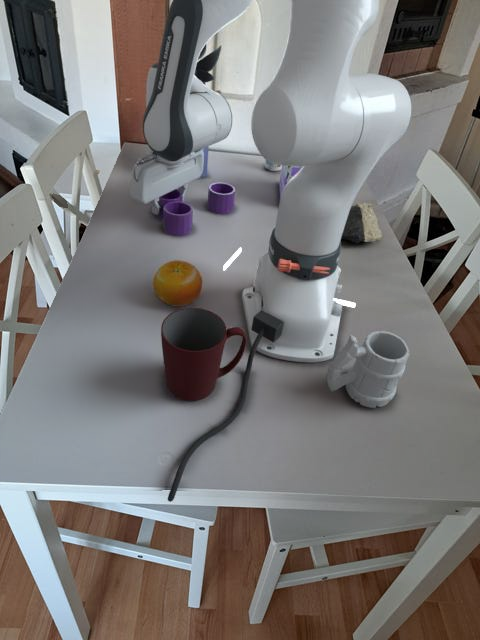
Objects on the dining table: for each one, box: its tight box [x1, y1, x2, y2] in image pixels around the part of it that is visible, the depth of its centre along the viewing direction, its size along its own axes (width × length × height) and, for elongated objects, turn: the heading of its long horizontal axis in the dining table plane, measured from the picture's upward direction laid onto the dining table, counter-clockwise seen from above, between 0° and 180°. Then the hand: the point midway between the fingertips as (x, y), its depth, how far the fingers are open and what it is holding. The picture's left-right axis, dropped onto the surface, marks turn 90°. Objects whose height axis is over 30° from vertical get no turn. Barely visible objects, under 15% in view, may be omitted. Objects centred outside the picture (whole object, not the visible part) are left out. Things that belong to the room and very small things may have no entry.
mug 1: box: [160, 307, 247, 402], centre depth 68 cm, size 12×9×11 cm
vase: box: [194, 43, 222, 178], centre depth 116 cm, size 14×12×35 cm
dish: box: [162, 201, 194, 237], centre depth 102 cm, size 6×6×5 cm
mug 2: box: [326, 330, 410, 409], centre depth 69 cm, size 8×12×12 cm, turn 102°
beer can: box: [264, 159, 282, 172], centre depth 129 cm, size 5×5×12 cm
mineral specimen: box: [341, 202, 383, 243], centre depth 107 cm, size 13×7×15 cm
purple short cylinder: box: [207, 181, 236, 215], centre depth 111 cm, size 6×6×5 cm
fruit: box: [152, 260, 203, 307], centre depth 83 cm, size 8×8×8 cm
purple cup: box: [154, 188, 184, 220], centre depth 106 cm, size 6×6×5 cm
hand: (168, 206), depth 107 cm, fingers closed on purple cup, 6 cm apart
